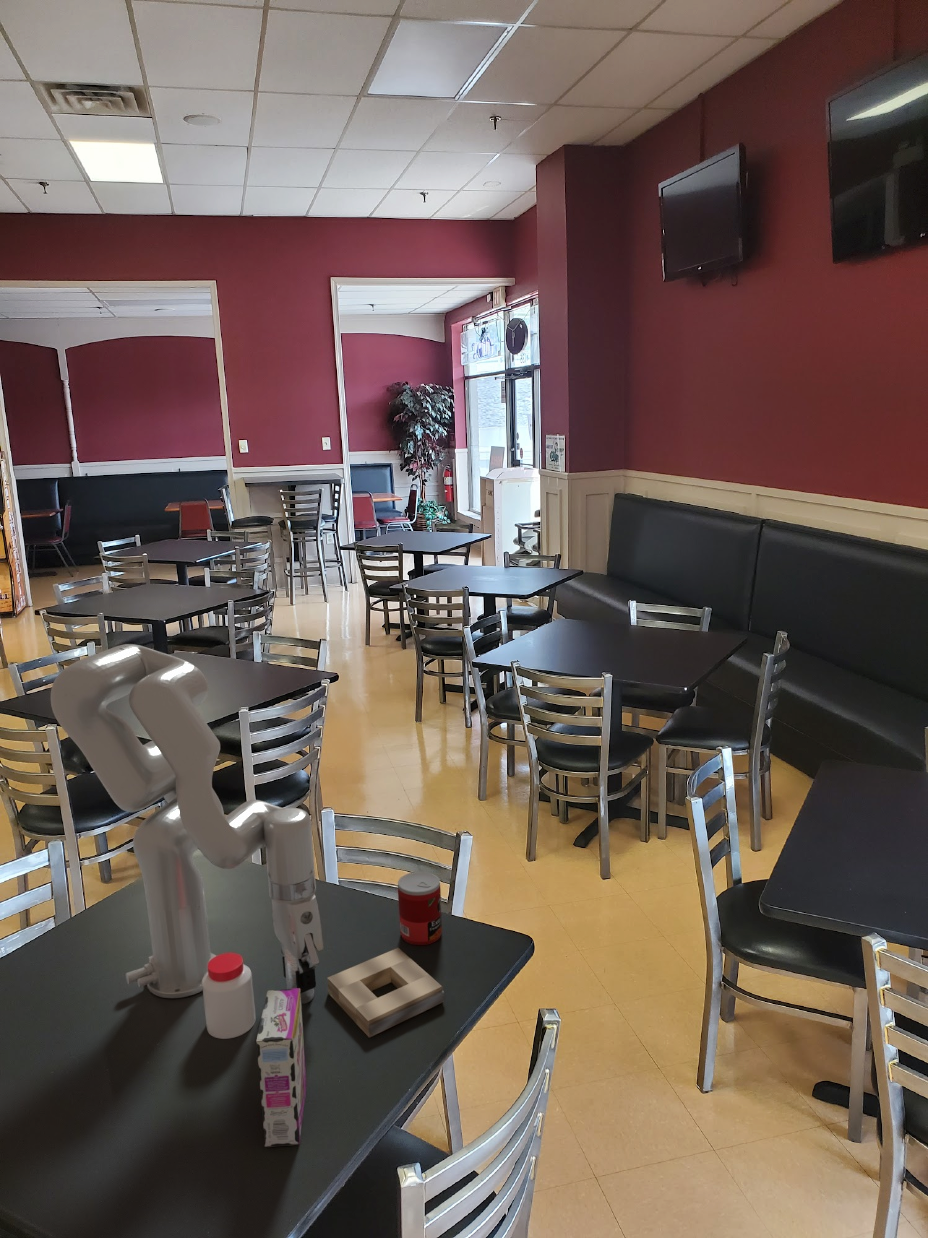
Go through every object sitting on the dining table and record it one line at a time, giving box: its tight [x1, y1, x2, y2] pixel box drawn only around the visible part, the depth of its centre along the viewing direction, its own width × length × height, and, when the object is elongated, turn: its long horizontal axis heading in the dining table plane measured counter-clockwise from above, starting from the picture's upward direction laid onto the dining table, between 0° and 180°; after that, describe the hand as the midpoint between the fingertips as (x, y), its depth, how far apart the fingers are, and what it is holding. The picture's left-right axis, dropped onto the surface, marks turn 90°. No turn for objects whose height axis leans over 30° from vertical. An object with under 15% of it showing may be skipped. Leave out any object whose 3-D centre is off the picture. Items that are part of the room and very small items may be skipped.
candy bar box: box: [255, 988, 308, 1148], centre depth 121 cm, size 11×5×16 cm, turn 5°
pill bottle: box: [202, 952, 257, 1040], centre depth 142 cm, size 8×8×11 cm
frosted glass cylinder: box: [284, 946, 315, 1005], centre depth 148 cm, size 4×4×10 cm
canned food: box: [397, 871, 443, 946], centre depth 165 cm, size 8×8×11 cm
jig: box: [327, 947, 446, 1038], centre depth 147 cm, size 14×15×3 cm
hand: (299, 981), depth 148 cm, fingers closed on frosted glass cylinder, 4 cm apart
